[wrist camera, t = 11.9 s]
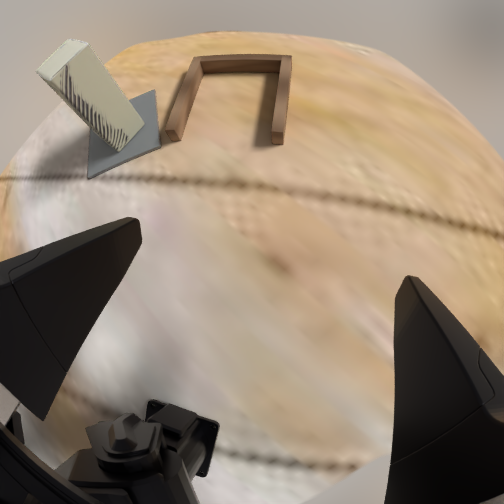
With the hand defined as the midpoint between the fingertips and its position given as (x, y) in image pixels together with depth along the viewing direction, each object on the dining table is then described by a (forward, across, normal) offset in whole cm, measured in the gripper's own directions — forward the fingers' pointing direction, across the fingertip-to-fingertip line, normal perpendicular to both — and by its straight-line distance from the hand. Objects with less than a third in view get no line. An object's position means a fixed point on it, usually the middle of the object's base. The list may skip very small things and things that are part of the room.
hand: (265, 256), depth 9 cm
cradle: (+22, +8, -3) cm, 24 cm away
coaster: (+18, +20, +1) cm, 27 cm away
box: (+18, +20, +1) cm, 27 cm away
